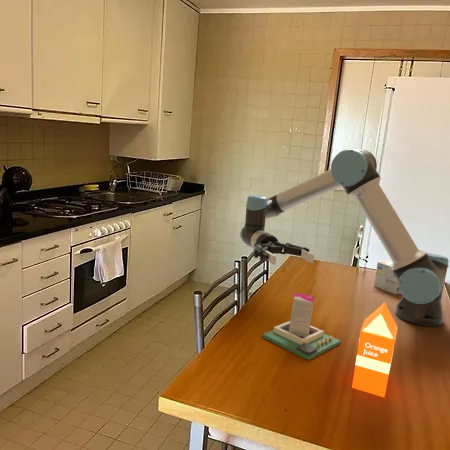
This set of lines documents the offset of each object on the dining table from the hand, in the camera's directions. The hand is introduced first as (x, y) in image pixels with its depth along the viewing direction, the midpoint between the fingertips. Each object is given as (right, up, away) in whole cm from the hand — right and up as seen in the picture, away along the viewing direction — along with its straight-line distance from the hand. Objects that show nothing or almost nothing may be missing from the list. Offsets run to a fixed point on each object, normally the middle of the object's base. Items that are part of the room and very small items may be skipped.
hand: (294, 259), depth 140 cm
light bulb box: (+45, -16, +42) cm, 64 cm away
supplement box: (0, -21, -10) cm, 23 cm away
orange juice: (+14, -28, -31) cm, 44 cm away
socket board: (0, -23, -12) cm, 25 cm away
